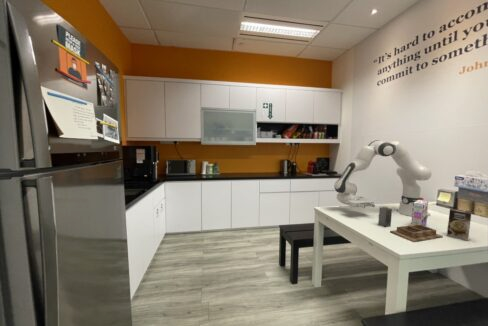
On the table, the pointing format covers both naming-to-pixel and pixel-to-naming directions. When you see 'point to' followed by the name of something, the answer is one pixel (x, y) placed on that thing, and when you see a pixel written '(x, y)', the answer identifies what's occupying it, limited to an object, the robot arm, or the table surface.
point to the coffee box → (459, 224)
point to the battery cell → (385, 216)
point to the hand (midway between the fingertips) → (369, 206)
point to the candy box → (419, 212)
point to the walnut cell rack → (416, 233)
